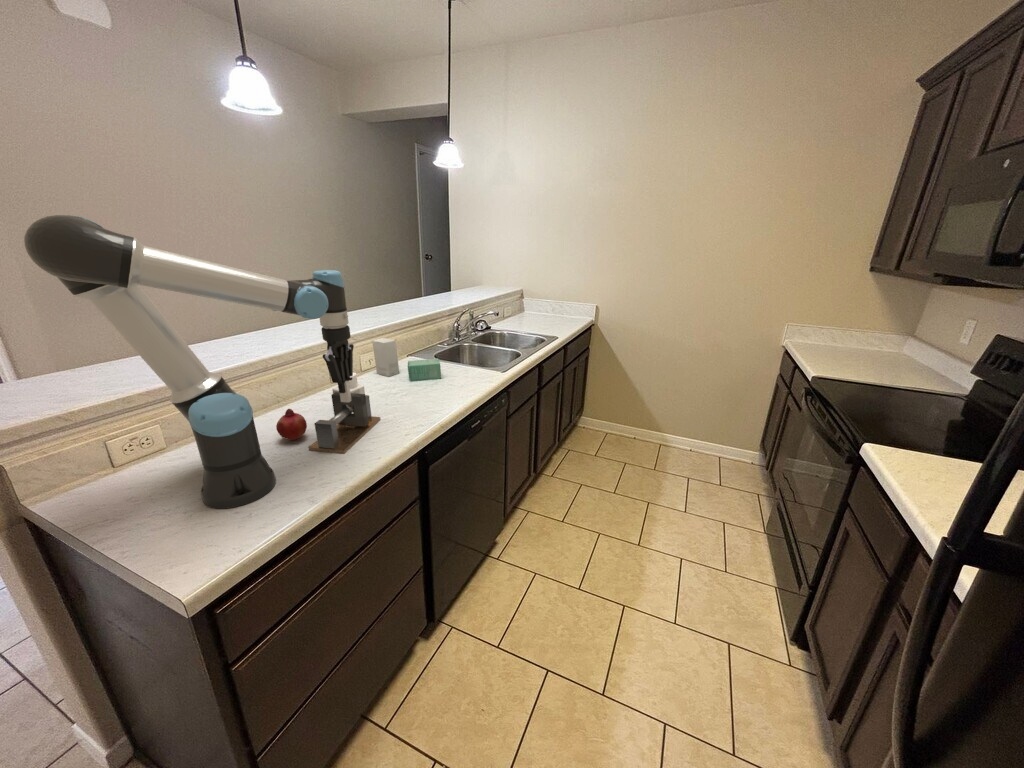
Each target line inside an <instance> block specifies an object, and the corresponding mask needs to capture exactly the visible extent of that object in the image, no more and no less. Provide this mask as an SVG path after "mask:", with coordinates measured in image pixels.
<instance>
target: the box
mask: <svg viewBox="0 0 1024 768" xmlns="http://www.w3.org/2000/svg"><path fill="white" fill-rule="evenodd" d="M441 369H442V368H441V362H440V360H439V358H428V359H427V358H425V359H418V360H417V359H416V360H408V361H407V372H408V376H409V377H408V378H409V381H410V382H412V383H413V382H422V381H433V380H441V379H442V373H441V372H442V370H441Z"/></svg>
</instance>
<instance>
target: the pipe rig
mask: <svg viewBox="0 0 1024 768" xmlns="http://www.w3.org/2000/svg"><path fill="white" fill-rule="evenodd" d="M365 397H366V405H367V413H368V422H369V423H368V424H367V425H366V426H354V425H342V424H338V423H340V422H341V421H342V420H344V419H345V418H346V417H347V416H349V415H350V414H351V413H353V414H355V413H354V406H353V405H348V407H346V408H345V409H344V410H342V411H341V412H339V413H338V414H337V415H335V416H333V417H331V418H330V419H329V420H328V419H327V420H326V419H318V420H317V421H315V422H314V428H315V434H316V441H314V442H313V443H312V444H311V445H309V446H308V451H312V452H321V453H322V452H323V453H331V454H332V453H333V454H335V453H336V454H343V455H344V454H346V453H347V452H348V451H349V450H350V449H351V448H352V447H353V446H355V444H356V443H358V442H359V441H360V440H361V439H362V438H363V437H364V436H365V435H366V434H367V433H368V432H369V431H370V430H371V429H373V428H374V427H375V426H376V425H377V424H378V423H379V422H380V421H381V416H372V409H371V408H372V407H371V401H370V400H371V399H370V395H368V394H365Z"/></svg>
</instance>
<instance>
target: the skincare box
mask: <svg viewBox="0 0 1024 768" xmlns="http://www.w3.org/2000/svg"><path fill="white" fill-rule="evenodd" d="M371 342H372V349H373V357H374V363H375V370H376V374H377V375H381V376H384V377H388V378H389V377H393V376H395V375H398V374H400V365H399V358H398V350H397V341H396V339H393V338H385V337H381V338H378V339H374V340H372V341H371Z"/></svg>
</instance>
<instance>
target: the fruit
mask: <svg viewBox="0 0 1024 768" xmlns="http://www.w3.org/2000/svg"><path fill="white" fill-rule="evenodd" d="M275 427H276V431H277V434H278V435H279V436H280V437H282V438H284V439H287V440H289V441H295V440H298V439H299V438H301V437H302V436H303V435H304V434H306V431H307V427H308V424H307V420H306V418H305V417H304V416H303V415H302V414H300V413H297V412H294V410H293V409H291V408H288V409H286V411H285V413H284V415H282V416H281V417H280V418H279V419H278V421H277V423H276V426H275Z"/></svg>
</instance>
